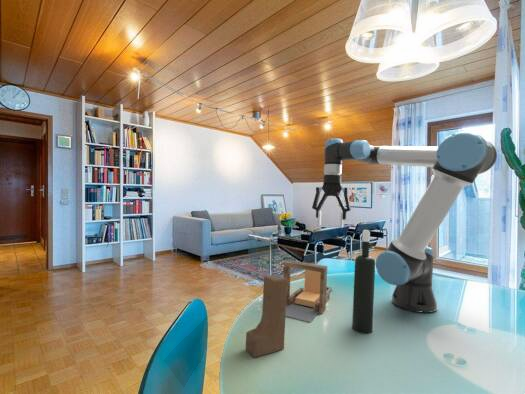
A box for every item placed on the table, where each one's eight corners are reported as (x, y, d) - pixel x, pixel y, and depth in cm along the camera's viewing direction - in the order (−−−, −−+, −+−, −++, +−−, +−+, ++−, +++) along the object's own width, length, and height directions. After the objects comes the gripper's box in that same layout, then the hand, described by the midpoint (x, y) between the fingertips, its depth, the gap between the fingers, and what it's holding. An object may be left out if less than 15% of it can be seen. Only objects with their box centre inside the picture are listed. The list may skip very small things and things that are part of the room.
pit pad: (313, 287, 126) (313, 284, 126) (331, 290, 123) (331, 287, 123) (308, 291, 119) (308, 289, 119) (327, 295, 116) (327, 292, 116)
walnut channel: (297, 292, 117) (299, 255, 117) (333, 300, 110) (335, 260, 111) (282, 304, 103) (284, 262, 103) (322, 314, 96) (324, 268, 96)
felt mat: (287, 304, 104) (287, 303, 104) (319, 311, 99) (320, 310, 99) (275, 314, 94) (275, 313, 94) (310, 322, 89) (310, 321, 89)
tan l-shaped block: (305, 294, 115) (306, 266, 115) (322, 297, 111) (323, 269, 111) (295, 303, 104) (296, 273, 104) (313, 307, 101) (315, 276, 101)
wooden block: (253, 358, 67) (257, 282, 68) (244, 349, 71) (248, 277, 71) (284, 349, 72) (287, 278, 72) (274, 341, 76) (277, 274, 76)
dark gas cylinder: (348, 326, 87) (352, 229, 88) (362, 324, 90) (366, 229, 90) (361, 335, 82) (365, 231, 82) (376, 332, 84) (380, 231, 85)
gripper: (359, 175, 123) (357, 227, 122) (311, 175, 133) (308, 223, 132) (357, 174, 116) (354, 229, 116) (305, 174, 126) (303, 224, 126)
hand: (330, 226), depth 124 cm, fingers open, 9 cm apart
